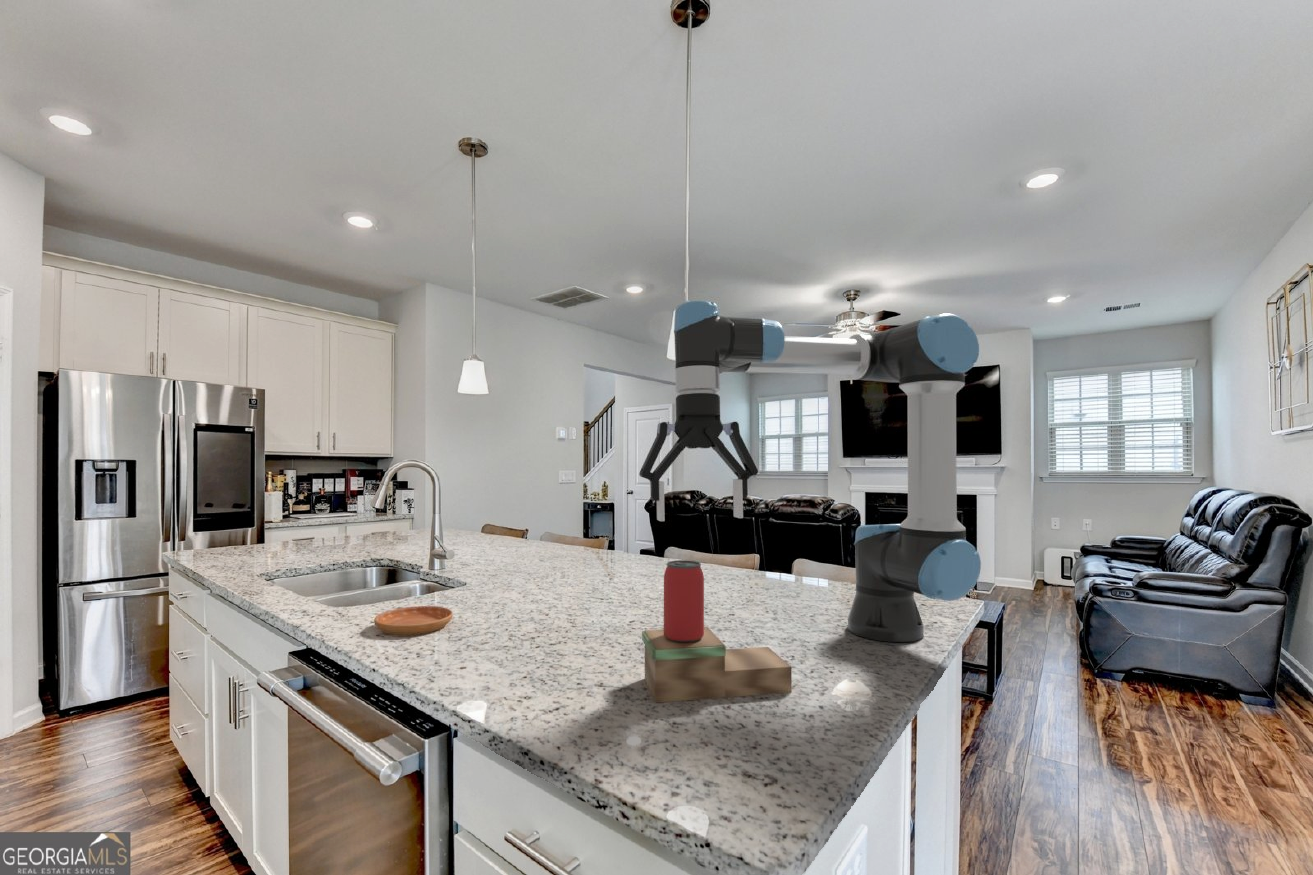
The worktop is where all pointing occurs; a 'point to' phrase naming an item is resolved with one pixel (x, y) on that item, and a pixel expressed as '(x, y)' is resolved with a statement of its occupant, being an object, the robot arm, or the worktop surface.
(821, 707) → the worktop surface
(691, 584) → the beer can
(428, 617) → the saucer
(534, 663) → the worktop surface
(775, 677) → the step stand
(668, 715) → the worktop surface
